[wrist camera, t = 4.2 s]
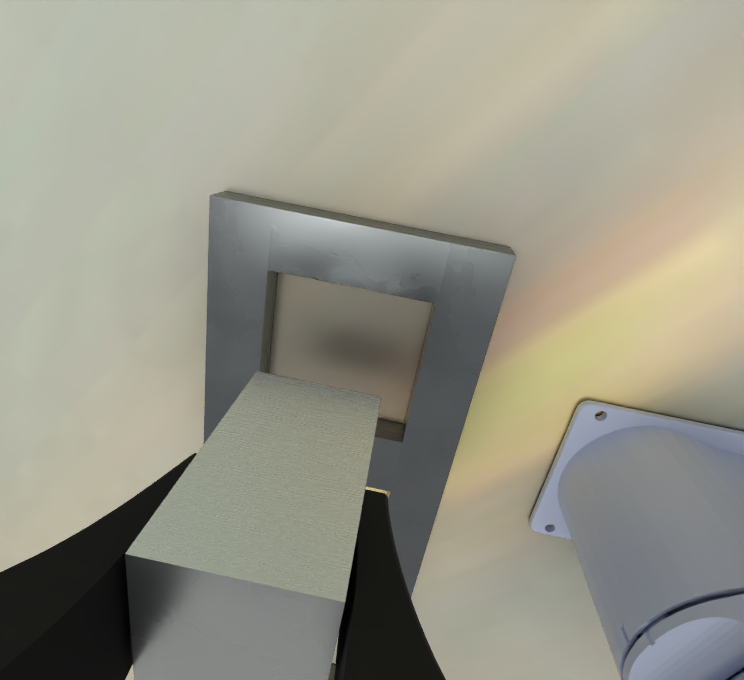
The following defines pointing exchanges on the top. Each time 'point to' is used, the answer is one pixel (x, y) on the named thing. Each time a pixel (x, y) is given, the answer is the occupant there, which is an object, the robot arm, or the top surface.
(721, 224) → the top surface
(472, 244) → the rail
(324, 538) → the block
